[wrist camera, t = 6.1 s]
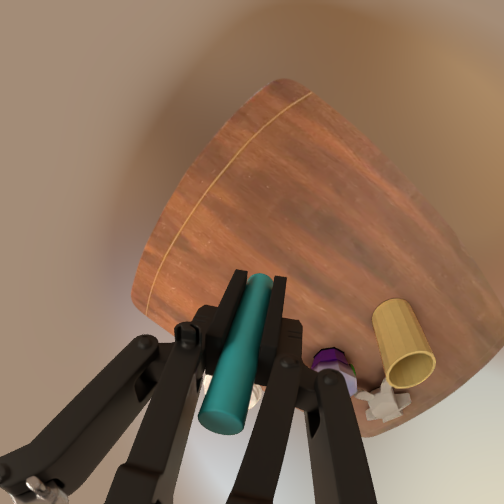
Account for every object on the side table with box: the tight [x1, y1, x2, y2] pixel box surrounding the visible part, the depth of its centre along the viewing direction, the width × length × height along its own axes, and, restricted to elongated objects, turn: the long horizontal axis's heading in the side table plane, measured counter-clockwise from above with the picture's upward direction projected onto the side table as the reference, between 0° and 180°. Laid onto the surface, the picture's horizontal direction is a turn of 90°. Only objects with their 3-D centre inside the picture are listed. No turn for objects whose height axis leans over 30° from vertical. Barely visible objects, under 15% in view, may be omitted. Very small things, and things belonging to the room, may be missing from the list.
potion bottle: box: [311, 347, 357, 397], centre depth 41 cm, size 9×9×12 cm
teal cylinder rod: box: [198, 273, 273, 435], centre depth 15 cm, size 2×2×11 cm
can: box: [372, 298, 436, 388], centre depth 36 cm, size 7×7×12 cm
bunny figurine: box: [354, 377, 411, 423], centre depth 46 cm, size 10×5×15 cm
